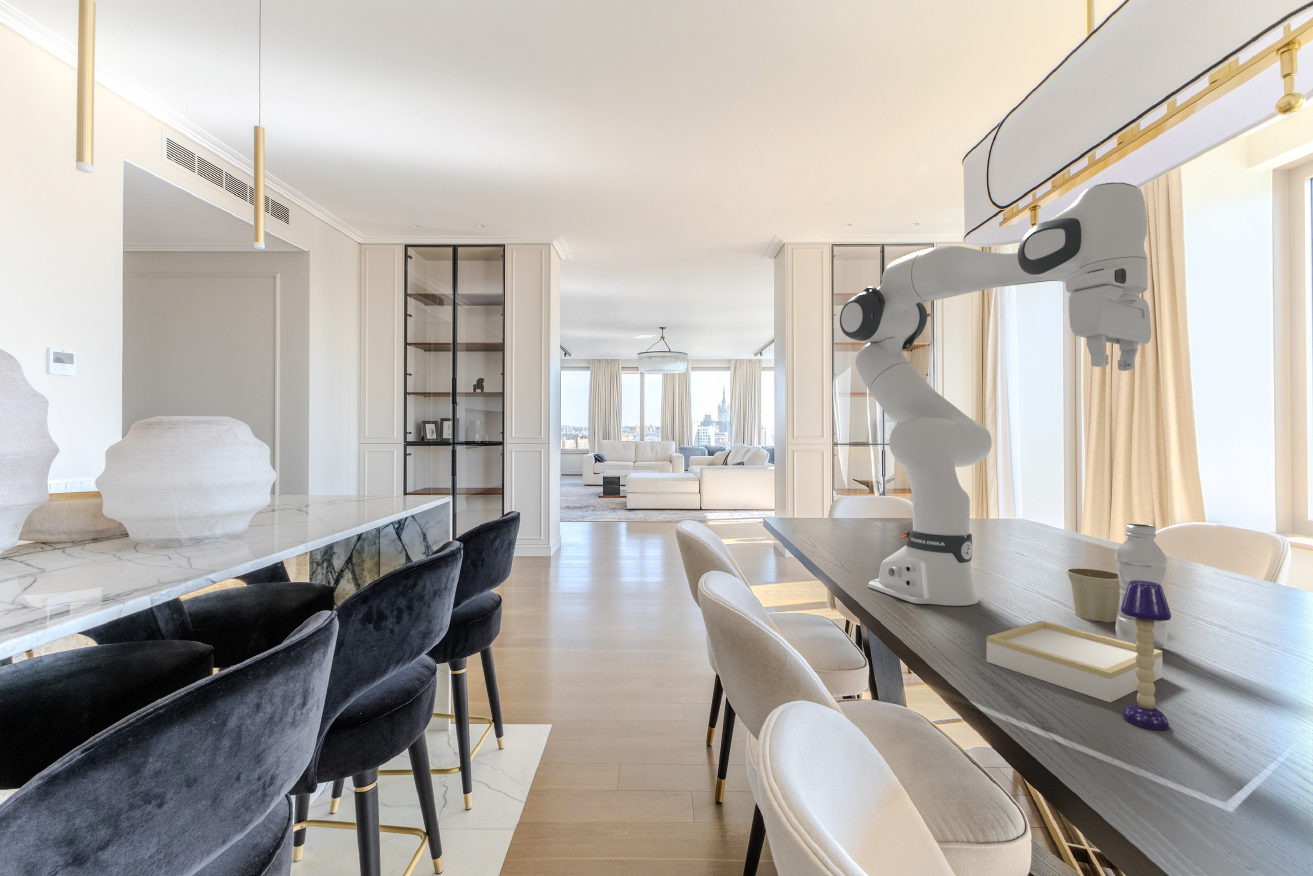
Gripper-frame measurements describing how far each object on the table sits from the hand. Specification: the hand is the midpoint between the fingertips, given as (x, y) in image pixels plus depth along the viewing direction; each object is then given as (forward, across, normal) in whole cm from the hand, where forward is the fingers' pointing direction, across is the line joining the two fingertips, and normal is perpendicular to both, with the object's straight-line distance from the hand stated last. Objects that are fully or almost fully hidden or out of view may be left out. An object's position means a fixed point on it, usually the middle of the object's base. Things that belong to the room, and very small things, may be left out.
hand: (1113, 368), depth 94 cm
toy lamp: (+46, +25, +12) cm, 54 cm away
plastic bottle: (+46, -5, +1) cm, 46 cm away
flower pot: (+46, -17, -10) cm, 50 cm away
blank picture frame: (+46, +15, 0) cm, 48 cm away
